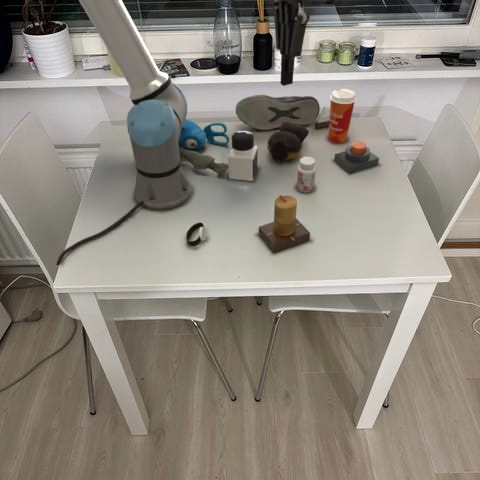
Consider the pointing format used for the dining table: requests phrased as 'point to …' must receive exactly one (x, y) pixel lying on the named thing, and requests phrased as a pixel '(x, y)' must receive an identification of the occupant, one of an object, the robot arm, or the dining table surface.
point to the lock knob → (285, 215)
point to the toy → (191, 136)
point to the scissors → (215, 134)
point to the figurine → (287, 141)
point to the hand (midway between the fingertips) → (286, 83)
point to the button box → (356, 160)
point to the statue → (202, 161)
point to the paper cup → (340, 114)
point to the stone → (323, 118)
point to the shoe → (277, 111)
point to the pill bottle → (306, 174)
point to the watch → (201, 234)
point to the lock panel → (283, 237)
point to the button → (358, 148)
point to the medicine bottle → (243, 157)
